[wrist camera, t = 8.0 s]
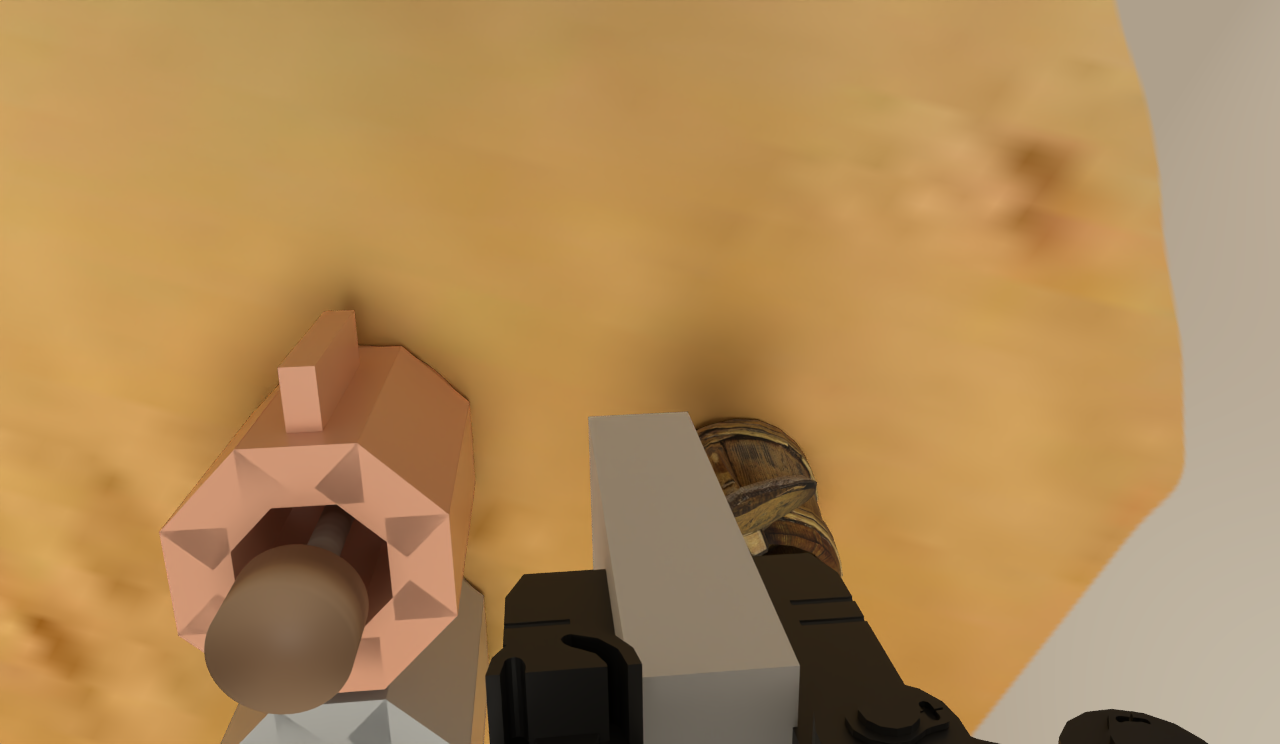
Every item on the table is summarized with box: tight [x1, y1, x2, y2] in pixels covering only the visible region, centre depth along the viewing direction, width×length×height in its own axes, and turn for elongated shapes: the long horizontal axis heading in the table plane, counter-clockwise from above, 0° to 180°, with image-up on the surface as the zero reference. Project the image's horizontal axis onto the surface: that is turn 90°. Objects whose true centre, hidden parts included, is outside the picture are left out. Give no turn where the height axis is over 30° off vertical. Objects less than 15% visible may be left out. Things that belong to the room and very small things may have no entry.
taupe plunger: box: [204, 504, 369, 715], centre depth 42 cm, size 5×5×16 cm
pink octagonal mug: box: [159, 310, 475, 693], centre depth 45 cm, size 14×11×14 cm
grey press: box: [221, 577, 489, 744], centre depth 50 cm, size 14×11×14 cm
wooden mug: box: [696, 419, 843, 579], centre depth 46 cm, size 9×14×18 cm, turn 23°
